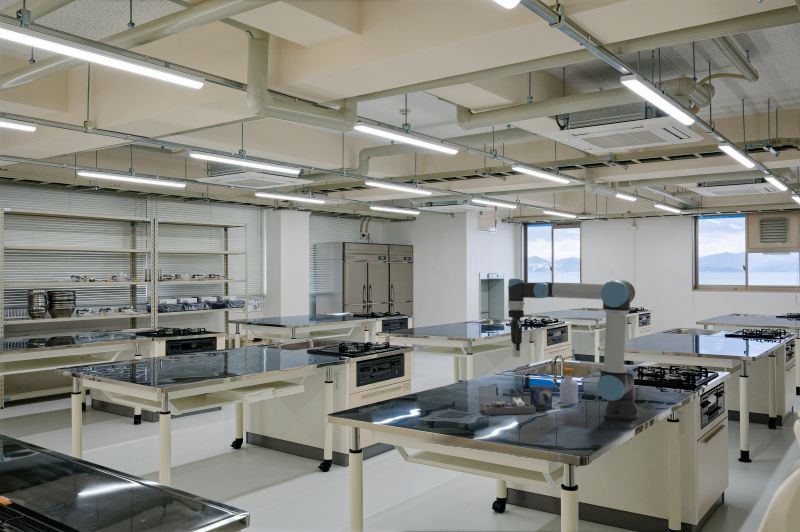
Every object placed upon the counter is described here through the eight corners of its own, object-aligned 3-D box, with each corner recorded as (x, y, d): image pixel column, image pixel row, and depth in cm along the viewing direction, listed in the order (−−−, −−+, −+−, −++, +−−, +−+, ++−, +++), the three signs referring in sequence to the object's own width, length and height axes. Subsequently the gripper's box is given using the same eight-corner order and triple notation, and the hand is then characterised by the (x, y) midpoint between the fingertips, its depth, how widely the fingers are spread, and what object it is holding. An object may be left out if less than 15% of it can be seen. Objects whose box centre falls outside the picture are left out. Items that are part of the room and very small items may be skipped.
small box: (530, 408, 314) (530, 387, 314) (530, 405, 320) (529, 385, 320) (552, 409, 312) (552, 388, 312) (551, 406, 319) (550, 385, 319)
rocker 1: (504, 403, 302) (504, 400, 302) (497, 403, 302) (496, 401, 302) (500, 403, 310) (500, 400, 310) (493, 403, 309) (493, 401, 310)
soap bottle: (578, 404, 321) (578, 357, 322) (560, 404, 323) (560, 356, 324) (577, 401, 330) (577, 354, 331) (559, 400, 332) (559, 354, 332)
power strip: (551, 412, 303) (551, 403, 303) (487, 414, 300) (487, 405, 300) (544, 408, 313) (544, 399, 313) (482, 410, 310) (482, 400, 310)
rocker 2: (524, 406, 303) (524, 403, 303) (517, 406, 303) (517, 404, 303) (519, 399, 311) (519, 397, 311) (512, 400, 311) (512, 397, 310)
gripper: (528, 310, 303) (528, 358, 303) (518, 308, 319) (519, 354, 319) (513, 310, 303) (513, 358, 302) (504, 308, 318) (504, 354, 318)
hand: (516, 356), depth 310 cm, fingers open, 3 cm apart
